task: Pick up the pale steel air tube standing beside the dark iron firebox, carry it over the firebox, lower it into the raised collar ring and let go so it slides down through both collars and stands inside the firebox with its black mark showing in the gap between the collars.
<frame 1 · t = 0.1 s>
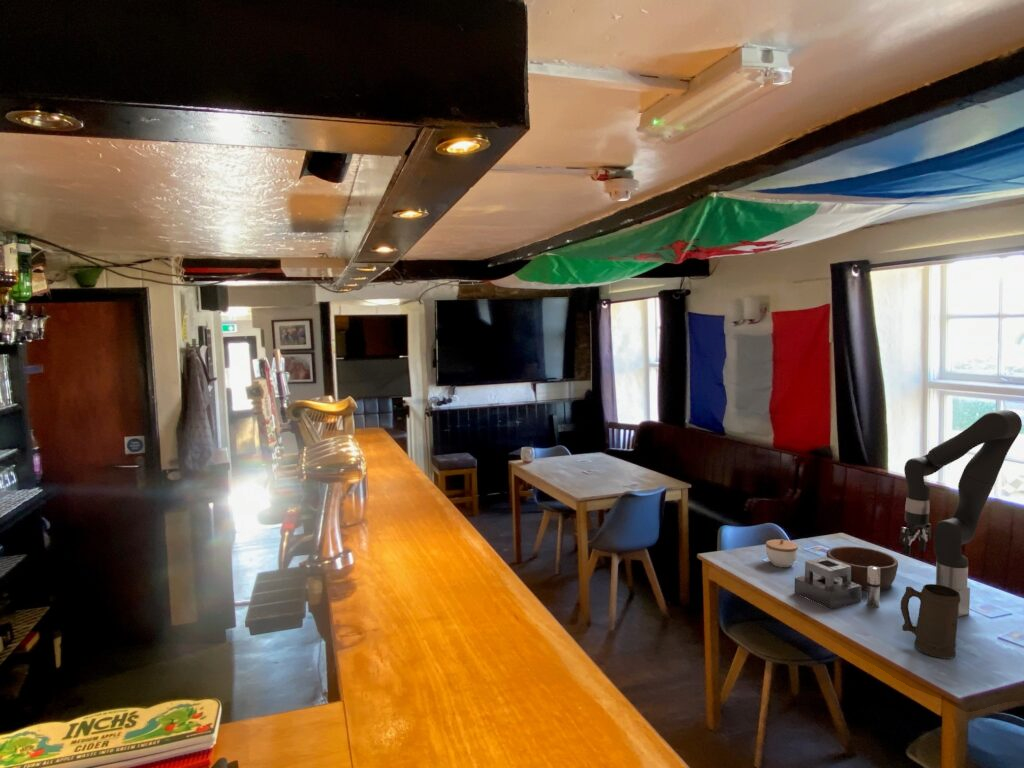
hand: (914, 552, 233), 17 cm above the table, tool pointing down, fingers open, 8 cm apart
firebox: (827, 597, 235), on the table
beer stein: (928, 649, 196), on the table
wooden bowl: (860, 581, 250), on the table
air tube: (872, 605, 228), on the table
lidded bowl: (781, 565, 269), on the table
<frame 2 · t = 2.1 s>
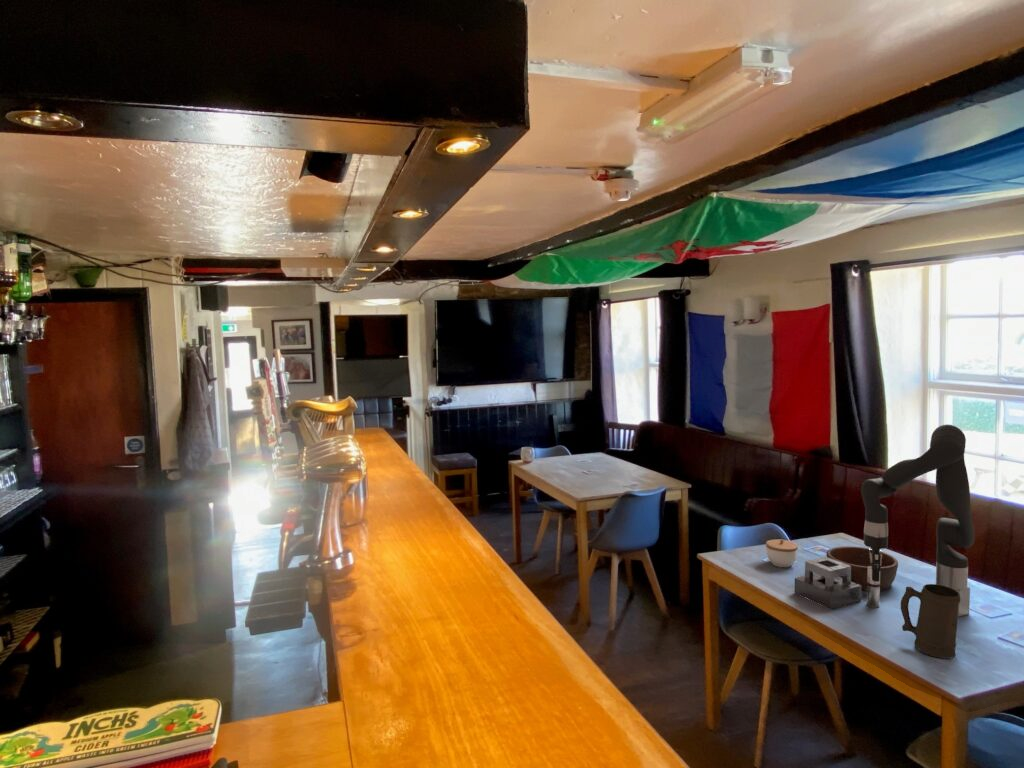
hand: (874, 576, 226), 11 cm above the table, tool pointing down, fingers open, 8 cm apart
nothing on the table moved.
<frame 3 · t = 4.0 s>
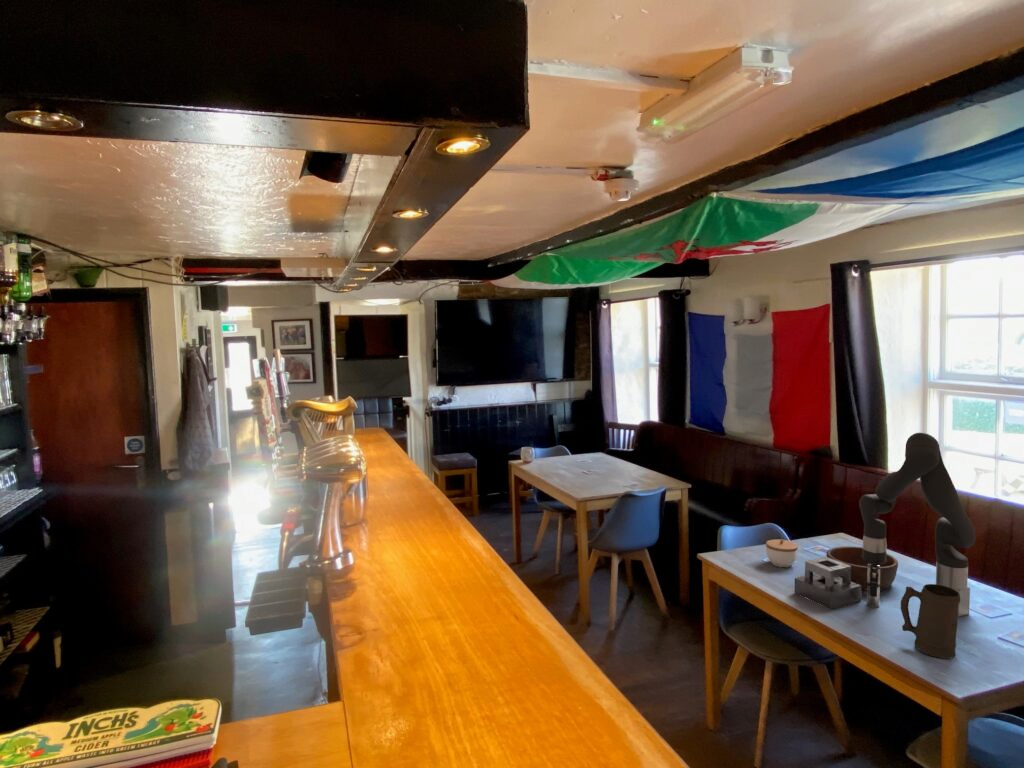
hand: (873, 593, 227), 4 cm above the table, tool pointing down, fingers closed on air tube, 4 cm apart
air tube: (872, 605, 228), on the table, touching gripper
everything else where it was.
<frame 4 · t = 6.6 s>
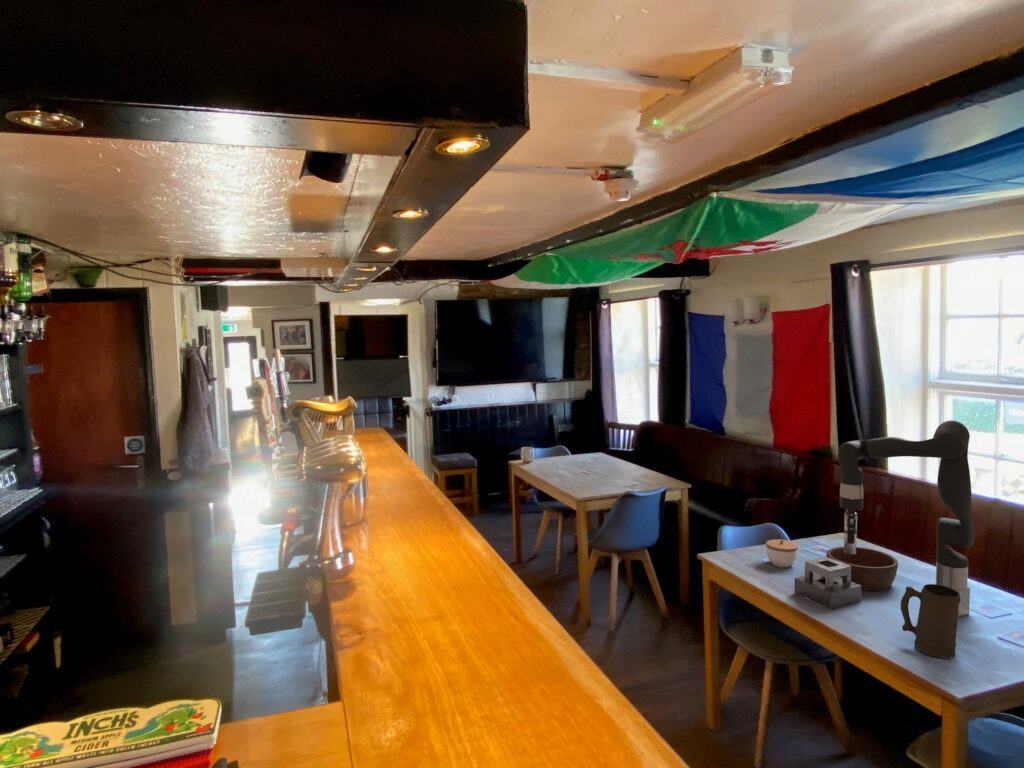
hand: (850, 541, 228), 23 cm above the table, tool pointing down, fingers closed on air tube, 4 cm apart
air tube: (849, 552, 229), point 19 cm above the table, touching gripper
everything else where it was.
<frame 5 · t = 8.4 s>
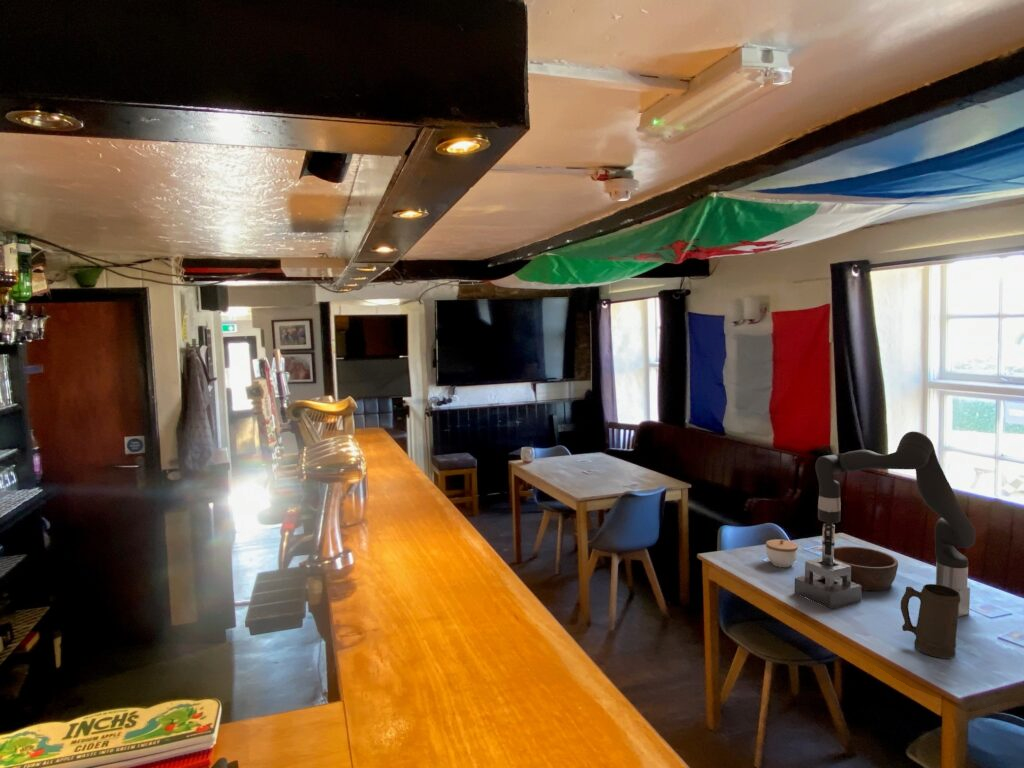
hand: (828, 552, 234), 17 cm above the table, tool pointing down, fingers closed on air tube, 4 cm apart
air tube: (827, 563, 234), point 13 cm above the table, touching gripper
everything else where it was.
when the fingers open (15 cm above the table, at t = 9.7 s): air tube drops 11 cm, resting in firebox.
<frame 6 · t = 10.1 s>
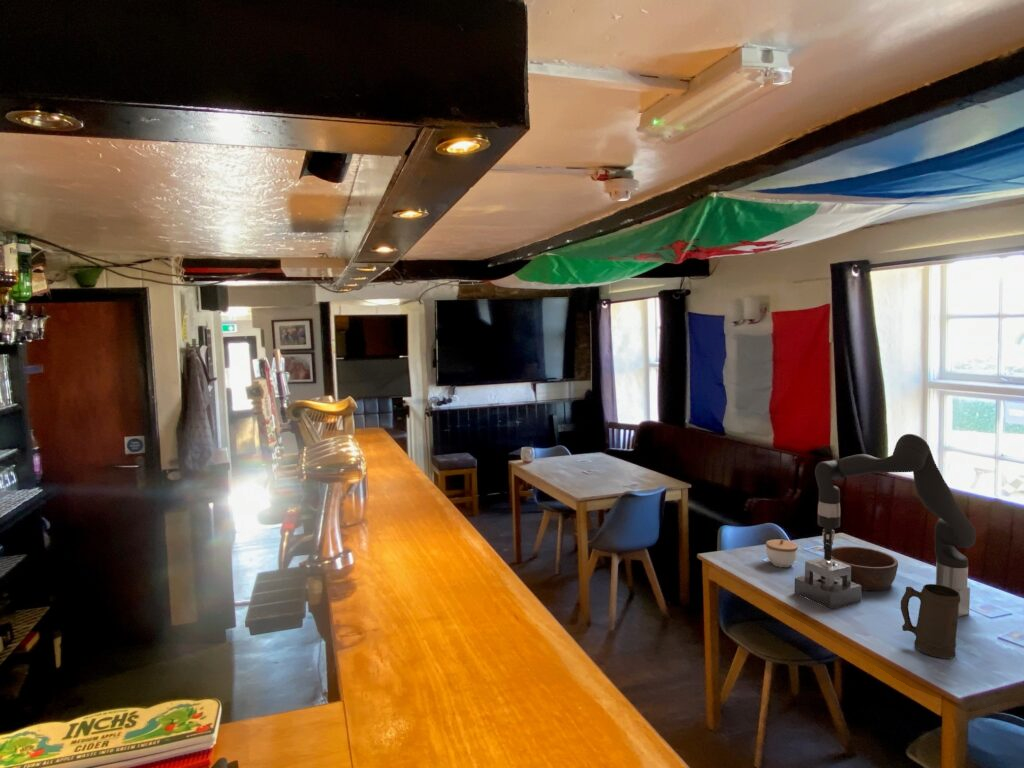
hand: (828, 556, 234), 16 cm above the table, tool pointing down, fingers open, 7 cm apart
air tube: (827, 596, 235), resting in firebox
everything else where it was.
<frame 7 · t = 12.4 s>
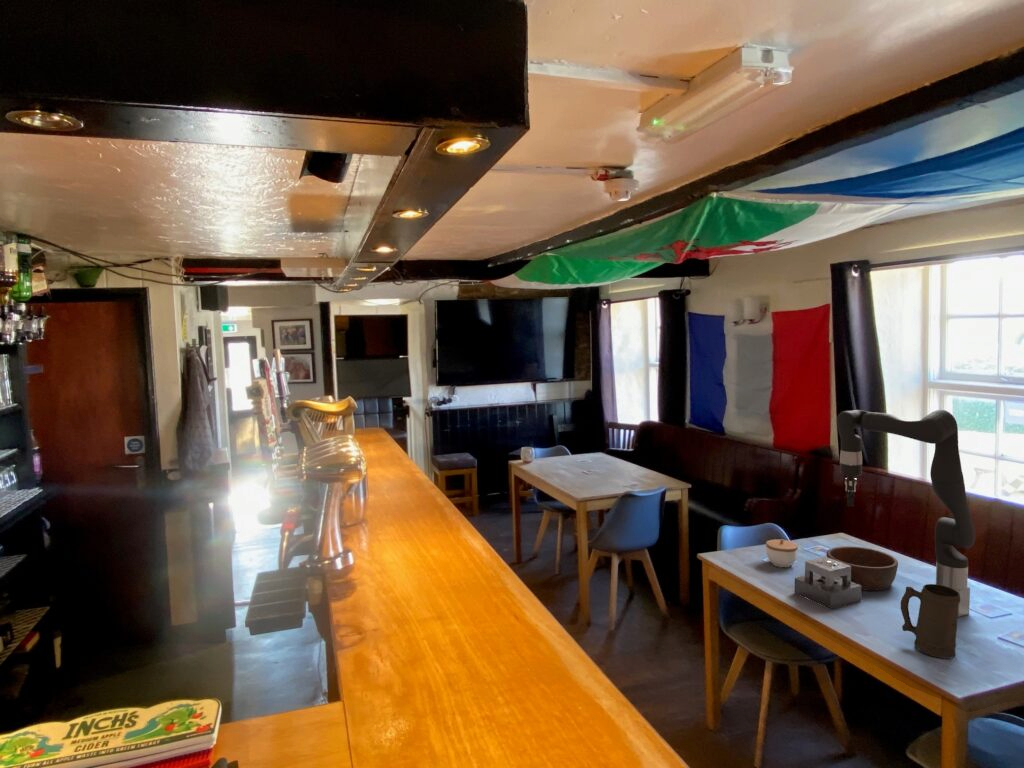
hand: (850, 503, 240), 34 cm above the table, tool pointing down, fingers open, 8 cm apart
nothing on the table moved.
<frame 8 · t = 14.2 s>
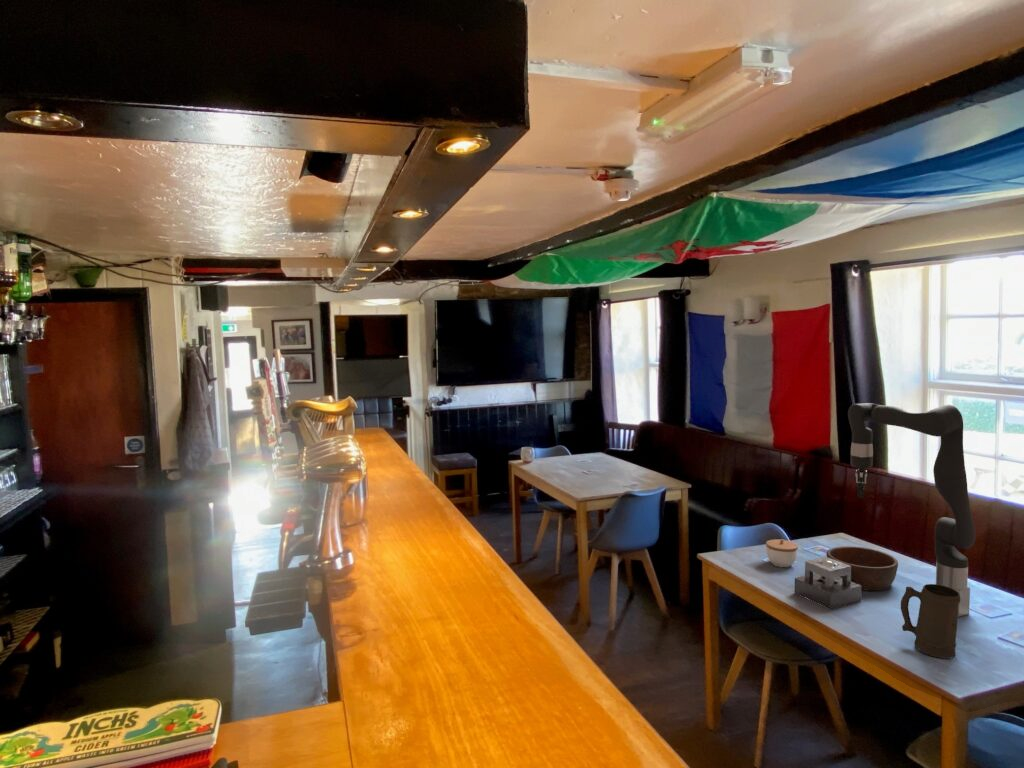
hand: (860, 495, 243), 36 cm above the table, tool pointing down, fingers open, 8 cm apart
nothing on the table moved.
at the end: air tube 0.1 cm off-centre on the firebox, point 0.0 cm above the firebox's base; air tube tilted 0°; the gripper is holding nothing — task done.
